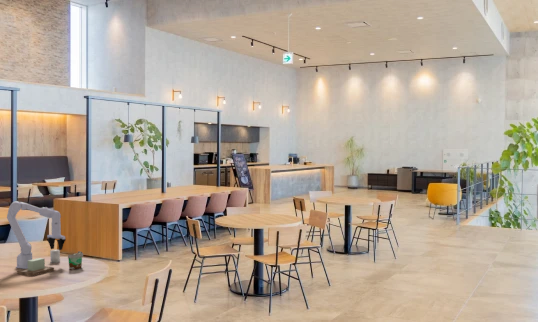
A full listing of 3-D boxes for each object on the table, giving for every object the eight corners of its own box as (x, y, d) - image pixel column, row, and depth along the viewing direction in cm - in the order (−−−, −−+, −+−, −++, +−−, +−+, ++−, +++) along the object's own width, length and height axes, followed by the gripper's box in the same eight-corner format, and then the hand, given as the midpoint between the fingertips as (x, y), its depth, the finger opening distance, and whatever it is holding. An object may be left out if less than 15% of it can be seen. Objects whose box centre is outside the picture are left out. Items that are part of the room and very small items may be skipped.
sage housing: (27, 270, 330) (27, 260, 330) (40, 266, 339) (40, 257, 339) (32, 270, 328) (32, 261, 328) (46, 267, 337) (45, 258, 337)
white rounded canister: (48, 262, 361) (48, 250, 361) (55, 260, 367) (55, 249, 366) (54, 263, 359) (54, 251, 358) (61, 261, 364) (61, 250, 364)
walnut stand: (17, 274, 328) (17, 270, 328) (38, 268, 343) (38, 265, 343) (33, 276, 322) (33, 273, 322) (54, 270, 337) (54, 267, 337)
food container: (76, 270, 336) (76, 255, 336) (67, 270, 337) (67, 254, 337) (87, 266, 348) (86, 251, 348) (78, 266, 349) (78, 251, 349)
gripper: (68, 228, 353) (69, 249, 354) (53, 227, 360) (53, 247, 360) (60, 230, 347) (60, 251, 347) (44, 229, 353) (45, 249, 354)
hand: (56, 249), depth 353 cm, fingers open, 7 cm apart
